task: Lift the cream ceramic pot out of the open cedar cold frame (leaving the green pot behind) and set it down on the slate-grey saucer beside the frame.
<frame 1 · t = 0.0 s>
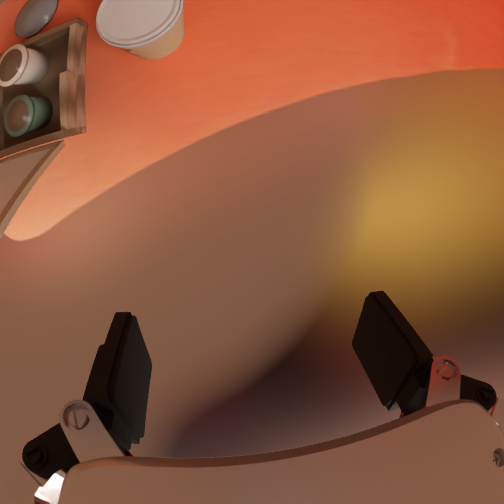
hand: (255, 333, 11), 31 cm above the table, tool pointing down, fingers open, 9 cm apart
coffee cup: (157, 35, 27), on the table
slate saucer: (36, 14, 19), on the table
green pot: (40, 113, 28), point 1 cm above the table, touching cold frame
cold frame: (38, 91, 27), on the table
cream pot: (36, 68, 24), point 1 cm above the table, touching cold frame
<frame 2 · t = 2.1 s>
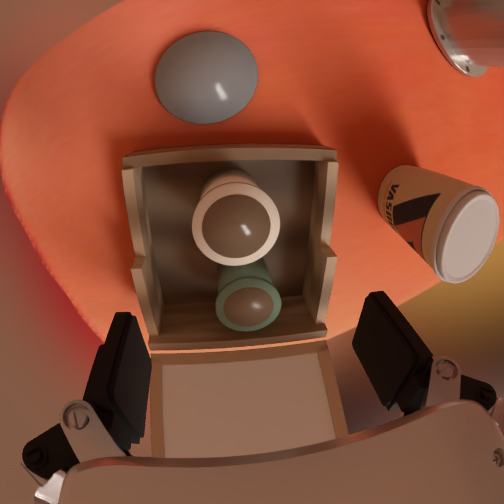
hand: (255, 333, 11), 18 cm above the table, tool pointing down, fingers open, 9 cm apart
coffee cup: (402, 195, 29), on the table
slate saucer: (206, 76, 21), on the table
green pot: (242, 270, 29), point 1 cm above the table, touching cold frame
cold frame: (231, 233, 28), on the table
frame lid: (250, 443, 20), point 16 cm above the table, hinge at 110.0°
cream pot: (230, 197, 26), point 1 cm above the table, touching cold frame
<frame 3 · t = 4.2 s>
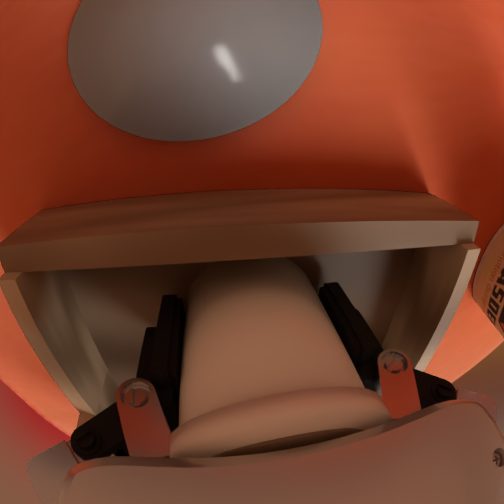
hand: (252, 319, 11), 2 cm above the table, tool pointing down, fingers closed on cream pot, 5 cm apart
coffee cup: (498, 261, 15), on the table
slate saucer: (191, 24, 7), on the table
cold frame: (248, 354, 15), on the table
cream pot: (250, 308, 12), point 1 cm above the table, touching cold frame, gripper
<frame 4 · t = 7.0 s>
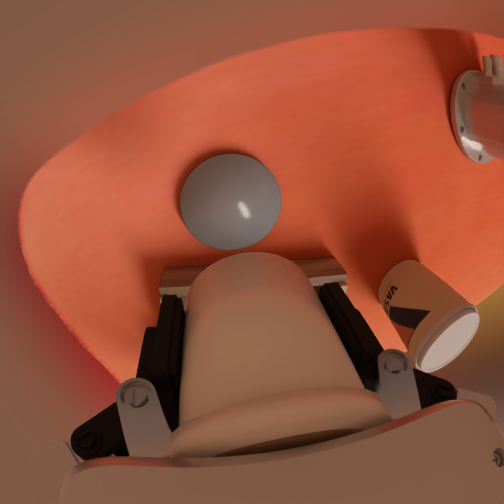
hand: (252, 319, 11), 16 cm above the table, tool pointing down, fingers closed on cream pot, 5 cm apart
coffee cup: (400, 283, 33), on the table
slate saucer: (230, 201, 25), on the table
cold frame: (251, 327, 32), on the table
cream pot: (250, 309, 12), point 15 cm above the table, touching gripper
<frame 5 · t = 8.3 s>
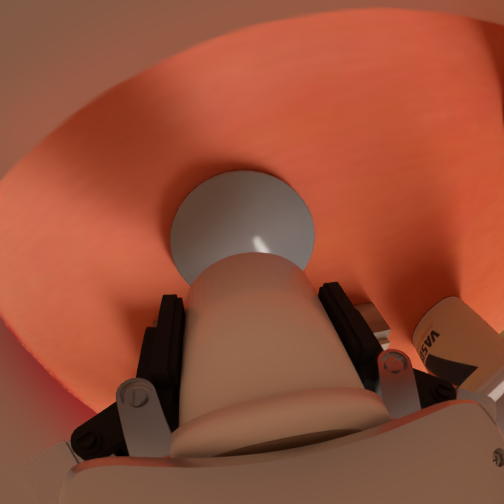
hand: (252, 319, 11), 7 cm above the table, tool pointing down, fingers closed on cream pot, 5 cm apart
coffee cup: (437, 322, 26), on the table
slate saucer: (242, 239, 18), on the table
cold frame: (265, 381, 25), on the table
cream pot: (250, 309, 12), point 7 cm above the table, touching gripper
when the fingers open (3 cm above the table, at t = 9.7 s): cream pot drops 1 cm, resting on slate saucer.
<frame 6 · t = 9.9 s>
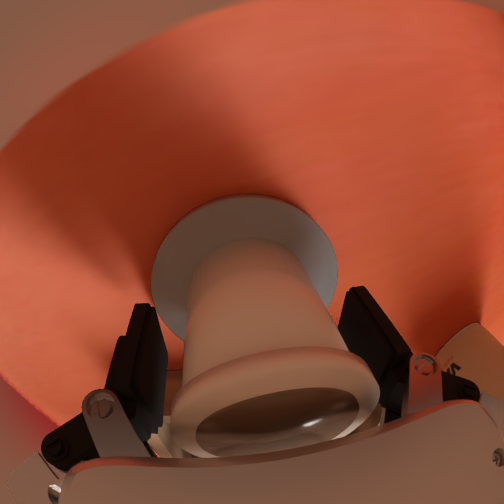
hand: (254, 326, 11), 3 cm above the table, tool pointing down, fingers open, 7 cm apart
coffee cup: (455, 349, 22), on the table
slate saucer: (245, 283, 14), on the table
cold frame: (270, 422, 21), on the table
cream pot: (248, 292, 13), point 1 cm above the table, touching slate saucer
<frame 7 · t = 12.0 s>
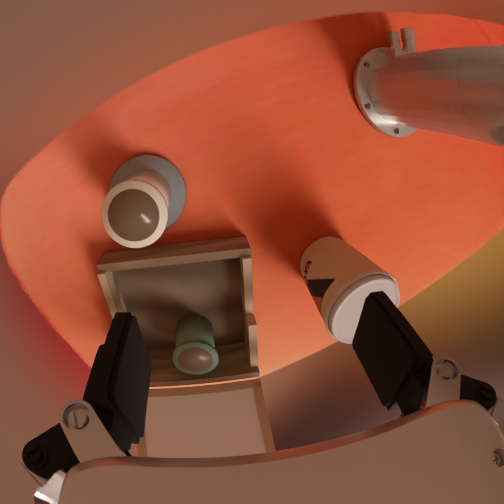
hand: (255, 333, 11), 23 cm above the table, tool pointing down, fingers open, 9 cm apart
coffee cup: (324, 260, 38), on the table
slate saucer: (147, 193, 29), on the table
green pot: (194, 329, 38), point 1 cm above the table, touching cold frame
cold frame: (183, 303, 37), on the table
frame lid: (204, 450, 28), point 16 cm above the table, hinge at 110.0°
cream pot: (146, 195, 29), point 1 cm above the table, touching slate saucer
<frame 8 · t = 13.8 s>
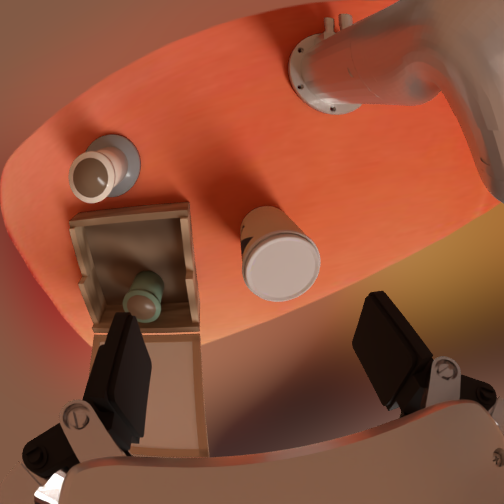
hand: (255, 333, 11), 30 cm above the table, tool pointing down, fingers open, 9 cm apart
coffee cup: (265, 229, 42), on the table
slate saucer: (111, 165, 34), on the table
green pot: (148, 284, 43), point 1 cm above the table, touching cold frame
cold frame: (139, 260, 42), on the table
frame lid: (142, 393, 34), point 16 cm above the table, hinge at 110.0°
cream pot: (110, 166, 33), point 1 cm above the table, touching slate saucer
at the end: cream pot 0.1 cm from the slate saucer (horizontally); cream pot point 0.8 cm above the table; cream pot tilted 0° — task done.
